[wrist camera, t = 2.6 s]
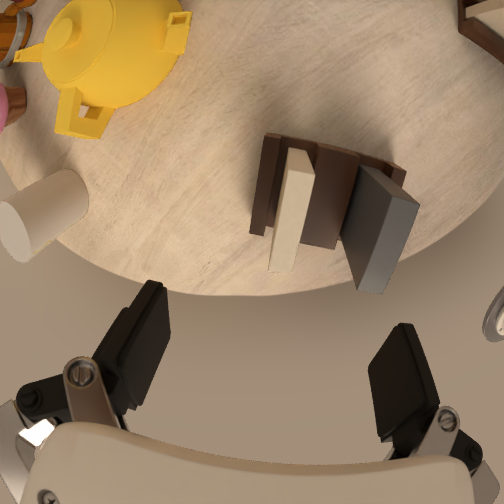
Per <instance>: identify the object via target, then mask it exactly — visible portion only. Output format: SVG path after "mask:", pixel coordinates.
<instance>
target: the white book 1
mask: <svg viewBox="0 0 504 504" xmlns="http://www.w3.org/2000/svg"><path fill="white" fill-rule="evenodd" d="M314 179H315V173H314V170H313V168H312V165H311V162H310V160H309V157H308V154H307V152H306V151H305V150H300V149H295V148H290V147H289V148H288V152H287V158H286V163H285V169H284V174H283V179H282V185H281V190H280V195H279V200H278V206H277V211H276V216H275V222H274V230H273V237H272V244H271V251H270V259H269V266H268V271H269V272H274V273H280V274H285V275H291V272H292V269H293V265H294V261H295V257H296V253H297V250H298V246H299V242H300V238H301V234H302V230H303V226H304V222H305V218H306V214H307V210H308V205H309V201H310V197H311V193H312V188H313V184H314Z"/></svg>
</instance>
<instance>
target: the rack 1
mask: <svg viewBox="0 0 504 504" xmlns="http://www.w3.org/2000/svg"><path fill="white" fill-rule="evenodd" d="M289 147H290V148H295V149H300V150H305V151H306V152H307V154H308V157H309V160H310V162H311V165H312V168H313V170H314V173H315V179H314V184H313V188H312V193H311V197H310V201H309V205H308V210H307V214H306V218H305V222H304V226H303V230H302V234H301V238H300V242H299V243H302V244H307V245H312V246H318V247H323V248H328V249H333V250H334V249H335V246H336V243H337V240H340V241H342V240H341V237H340V234H339V233H340V230H341V227H342V224H343V220H344V217H345V214H346V210H347V207H348V203H349V200H350V196H351V193H352V189H353V185H354V182H355V178H356V174H357V170H358V166H359V164H362V165H366V166H370V167H373V168H376V169H379V170H380V171H381V172H383V173H384V174H385V175H386V176H388V177H389V178H390V179H391V180H392V181H394V182H395V183H396V184H397V185H398V186H400V187H401V188H402V186H403V182H404V179H405V175H406V172H407V171H405V170H404V169H402V168H401V167H399V166H398V165H396V164H394V163H391V162H388V161H385V160H382V159H379V158H376V157H372V156H369V155H365V154H362V153H358V152H355V151H351V150H347V149H343V148H340V147H336V146H332V145H327V144H323V143H319V142H314V141H310V140H305V139H300V138H295V137H290V136H285V135H279V134H273V133H267V134H266V135H265V136H264V141H263V147H262V153H261V160H260V166H259V172H258V179H257V185H256V192H255V198H254V205H253V211H252V218H251V224H250V231H249V234H255V235H260V236H264V232H265V227H266V226H269V227H274V222H275V216H276V211H277V206H278V200H279V195H280V190H281V185H282V179H283V174H284V169H285V163H286V158H287V152H288V148H289Z"/></svg>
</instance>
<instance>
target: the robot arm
mask: <svg viewBox="0 0 504 504" xmlns="http://www.w3.org/2000/svg"><path fill="white" fill-rule="evenodd" d="M496 330H497V332H498V333H499V334H500V335H504V306H503V307H502V309H501V311H500V313H499V315H498V317H497V320H496ZM170 334H171V331H170V323H169V311H168V298H167V288H166V287H163V284H162V283H161V282H157V281H153V280H147V281H146V283H145V284H144V286H143V287H142V289H141V290H140V292H139V293H138V295H137V296H136V298H135V299H134V301H133V302H132V304H131V305H130V307H129V308H128V307H125V308H123V309H122V310H121V312H120V313H119V315H118V316H117V318H116V319H115V321H114V322H113V324H112V325H111V327H110V329H109V330H108V332H107V333H106V335H105V337H104V338H103V340H102V341H101V343H100V345H99V346H98V348H97V349H96V351H95V353H94V354H93V356H92V358H89V357H84V356H81V357H76V358H73V359H72V360H70V361H69V362H68V363H67V364H66V366H65V367H64V370H63V374H60V375H56V376H53V377H50V378H46V379H43V380H39V381H36V382H32V383H29V384H26V385H24V386H22V388H20V390H19V391H18V393H17V396H16V400H14V401H13V400H12V399H11V400H9V401H7V402H6V403H4V404H3V405H1V406H0V476H1V478H2V480H3V482H4V483H5V485H6V487H7V488H8V490H9V492H10V494H11V495H12V497H13V498H14V500H15V501H16V503H17V504H492V503H493V502H494V500H495V499H496V498H497V496H498V494H499V490H500V485H499V482H498V480H497V479H496V477H495V476H494V474H493V473H492V471H491V469H490V468H489V466H488V465H487V463H486V462H485V460H483V461H482V457H483V453H482V448H481V446H480V445H479V444H478V443H477V442H476V441H474V440H473V439H472V438H471V437H469V436H468V435H467V434H465V433H464V432H463V431H461V430H460V429H459V426H460V419H459V416H458V414H457V412H456V411H455V410H454V409H453V408H451V407H449V406H442V407H440V408H439V406H438V405H439V404H440V400H439V396H438V393H437V390H436V386H435V383H434V380H433V377H432V374H431V371H430V368H429V365H428V362H427V360H426V357H425V354H424V351H423V348H422V346H421V343H420V341H419V338H418V335H417V333H416V330H415V328H414V326H413V324H408V323H399V324H398V325H397V326H395V327H394V328H393V330H392V331H391V333H390V335H389V336H388V338H387V339H386V341H385V342H384V344H383V345H382V347H381V348H380V350H379V351H378V352H377V354H376V355H375V357H374V358H373V360H372V361H371V363H370V364H369V366H368V375H369V380H370V385H371V392H372V398H373V404H374V411H375V418H376V426H377V434H378V436H379V437H380V438H381V443H384V442H393V447H392V448H391V450H390V451H389V453H388V455H387V456H386V457H385V459H384V461H380V462H370V463H359V464H341V465H299V464H298V465H297V464H281V463H268V462H260V461H251V460H244V459H237V458H230V457H225V456H220V455H214V454H209V453H204V452H200V451H195V450H192V449H188V448H184V447H180V446H176V445H172V444H168V443H165V442H161V441H158V440H155V439H151V438H148V437H145V436H142V435H139V434H136V433H132V432H130V430H129V428H128V425H127V423H126V420H125V418H124V415H125V414H126V411H127V409H128V408H129V409H132V410H136V408H137V406H138V405H139V406H141V405H142V404H143V401H144V399H145V397H146V394H147V392H148V389H149V387H150V385H151V382H152V380H153V377H154V375H155V372H156V370H157V368H158V365H159V363H160V361H161V358H162V356H163V353H164V351H165V349H166V347H167V344H168V342H169V340H170ZM47 436H48V437H47ZM46 437H47V438H46ZM44 438H46V440H45V441H44V443H43V445H42V447H41V449H40V450H39V452H38V454H37V456H36V458H34V452H35V449H36V447H37V446H38V445H40V444H41V443H42V442H43V441H42V440H43V439H44Z"/></svg>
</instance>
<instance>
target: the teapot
mask: <svg viewBox="0 0 504 504" xmlns="http://www.w3.org/2000/svg"><path fill="white" fill-rule="evenodd" d="M192 14H193V12H192V11H187V12H183V9H182V7H181V5H180V3H179V2H178V0H72V1H71V2H69V3H68V4H67V5H66V6H65V7H64V8H63V9H62V10H61V11H60V12H59V13H58V14H57V16H56V17H55V18H54V20H53V22H52V23H51V25H50V27H49V29H48V31H47V33H46V36H45V39H44V42H42V43H39V44H36V45H33V46H30V47H28V48H25V49H22V50H18V51H16V52H15V56H14V61H13V62H42V65H43V69H44V72H45V74H46V75H47V77H48V79H49V80H50V82H51V83H52V84H53V85H54V86H55V87H56V88H57V89H58V90H59V91H60V98H59V103H58V109H57V116H56V123H55V131H54V133H59V134H64V135H69V136H73V137H78V138H82V139H100V138H101V136H102V134H103V132H104V130H105V128H106V126H107V124H108V122H109V120H110V118H111V116H112V114H113V112H114V111H115V109H116V108H119V107H124V106H127V105H130V104H132V103H134V102H137V101H139V100H140V99H142V98H143V97H145V96H147V95H148V94H149V93H150V92H152V91H153V90H154V89H155V88H156V87H157V86H158V85H159V84H160V83H162V81H163V80H164V79H165V78H166V77H167V75H168V74H169V73H170V71H171V70H172V68H173V67H174V65H175V63H176V61H177V59H178V57H179V55H184V51H185V46H186V42H187V37H188V33H189V29H190V24H191V19H192ZM81 105H84V106H88V107H89V109H88V111H87V113H86V115H85V117H84V118H82V117H78V114H79V110H80V106H81Z"/></svg>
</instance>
